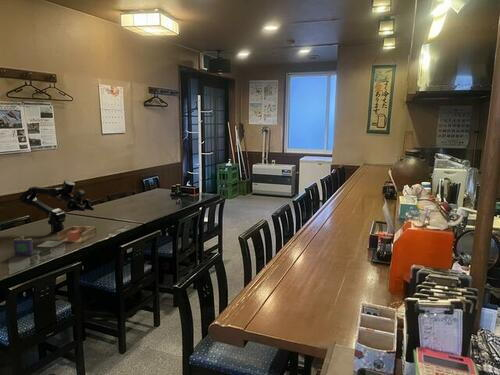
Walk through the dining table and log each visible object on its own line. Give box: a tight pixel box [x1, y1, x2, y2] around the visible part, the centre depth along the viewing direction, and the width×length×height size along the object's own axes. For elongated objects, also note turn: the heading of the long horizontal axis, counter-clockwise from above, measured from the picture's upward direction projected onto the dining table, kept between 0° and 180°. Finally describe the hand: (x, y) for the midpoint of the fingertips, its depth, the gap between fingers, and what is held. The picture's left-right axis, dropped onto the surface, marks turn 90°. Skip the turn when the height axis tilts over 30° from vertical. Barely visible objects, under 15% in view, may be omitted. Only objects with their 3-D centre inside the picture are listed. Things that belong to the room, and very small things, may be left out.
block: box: [67, 230, 80, 242], centre depth 214 cm, size 5×5×5 cm
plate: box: [36, 240, 65, 248], centre depth 206 cm, size 10×10×1 cm
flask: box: [13, 235, 34, 257], centre depth 190 cm, size 9×3×11 cm, turn 95°
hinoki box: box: [56, 225, 97, 243], centre depth 218 cm, size 16×15×6 cm
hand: (89, 210), depth 223 cm, fingers open, 9 cm apart
